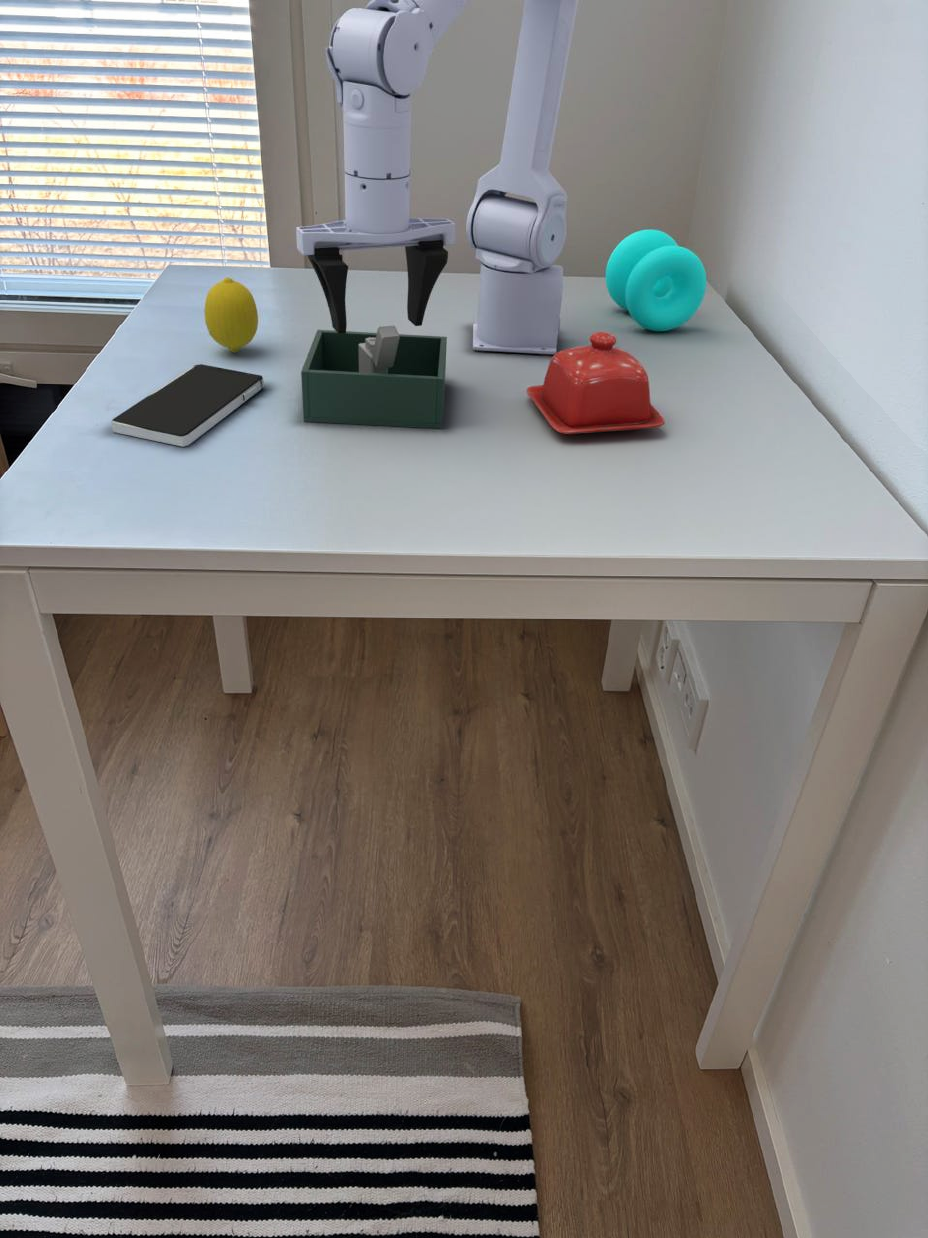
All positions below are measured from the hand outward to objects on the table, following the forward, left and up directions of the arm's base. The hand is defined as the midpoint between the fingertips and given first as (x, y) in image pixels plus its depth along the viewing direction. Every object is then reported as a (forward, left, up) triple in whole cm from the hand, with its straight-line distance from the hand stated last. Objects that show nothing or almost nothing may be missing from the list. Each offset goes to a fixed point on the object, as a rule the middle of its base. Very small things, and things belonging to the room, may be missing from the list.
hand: (377, 326), depth 91 cm
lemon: (+17, -11, -8) cm, 21 cm away
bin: (0, 0, -8) cm, 8 cm away
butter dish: (-21, +1, -8) cm, 23 cm away
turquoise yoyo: (-31, -29, -8) cm, 43 cm away
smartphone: (+18, +4, -8) cm, 20 cm away
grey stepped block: (0, 0, -7) cm, 7 cm away
